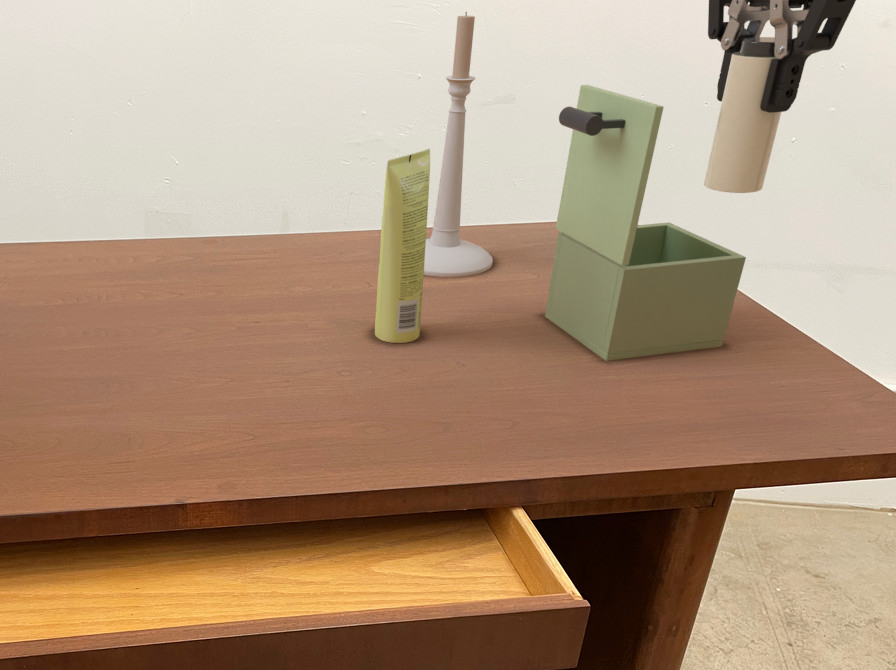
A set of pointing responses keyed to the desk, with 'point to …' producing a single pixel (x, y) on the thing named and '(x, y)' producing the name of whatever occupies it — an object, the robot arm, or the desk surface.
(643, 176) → the lid
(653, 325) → the chest
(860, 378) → the desk surface
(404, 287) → the tube
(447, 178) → the candlestick
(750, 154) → the spice bottle
